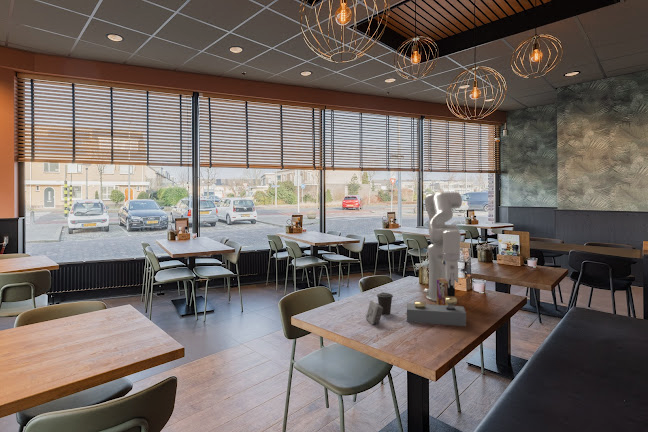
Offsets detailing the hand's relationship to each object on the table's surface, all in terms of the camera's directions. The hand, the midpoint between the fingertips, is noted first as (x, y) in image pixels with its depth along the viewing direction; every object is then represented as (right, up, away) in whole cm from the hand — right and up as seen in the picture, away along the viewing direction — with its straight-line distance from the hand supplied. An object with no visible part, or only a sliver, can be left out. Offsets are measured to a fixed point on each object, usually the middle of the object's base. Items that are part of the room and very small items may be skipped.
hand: (450, 295), depth 167 cm
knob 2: (0, -8, +1) cm, 8 cm away
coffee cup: (-28, -12, +14) cm, 34 cm away
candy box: (+4, -11, +19) cm, 23 cm away
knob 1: (-13, -11, +4) cm, 17 cm away
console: (-7, -12, +2) cm, 14 cm away
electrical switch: (-36, -13, +2) cm, 38 cm away
